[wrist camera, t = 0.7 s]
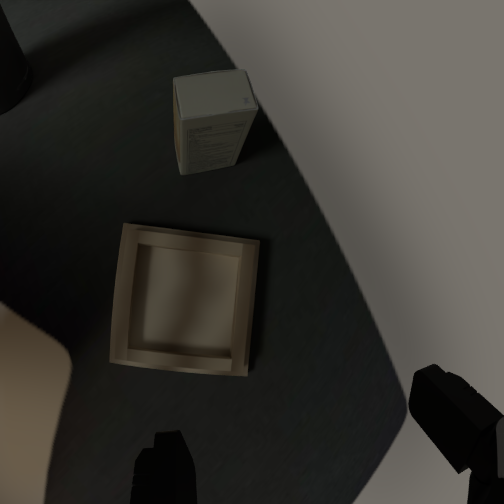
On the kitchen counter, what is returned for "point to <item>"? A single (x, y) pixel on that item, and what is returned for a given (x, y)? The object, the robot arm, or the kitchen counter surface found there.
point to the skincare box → (211, 118)
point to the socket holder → (184, 301)
